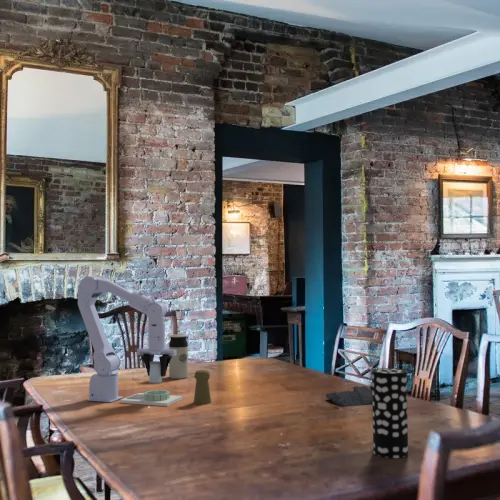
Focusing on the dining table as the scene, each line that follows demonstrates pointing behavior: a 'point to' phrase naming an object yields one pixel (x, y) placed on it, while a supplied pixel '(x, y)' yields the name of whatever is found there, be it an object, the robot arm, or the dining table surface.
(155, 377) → the tube
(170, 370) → the travel mug
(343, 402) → the dark slate chunk
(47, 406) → the dining table surface
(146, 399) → the white base plate
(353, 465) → the dining table surface
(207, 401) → the cork
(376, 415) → the white-spotted black cylinder
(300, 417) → the dining table surface
